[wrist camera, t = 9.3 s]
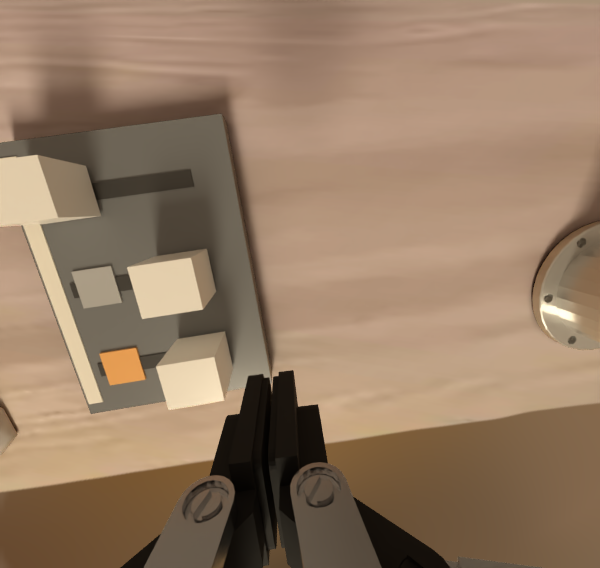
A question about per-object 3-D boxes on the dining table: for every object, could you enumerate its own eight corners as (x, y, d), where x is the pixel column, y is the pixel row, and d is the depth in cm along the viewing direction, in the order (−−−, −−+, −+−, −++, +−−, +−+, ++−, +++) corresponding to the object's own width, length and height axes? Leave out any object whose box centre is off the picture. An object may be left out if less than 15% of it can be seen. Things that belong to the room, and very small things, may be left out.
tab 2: (206, 248, 23) (190, 257, 19) (216, 291, 24) (203, 309, 20) (154, 256, 23) (127, 267, 19) (166, 299, 24) (142, 319, 20)
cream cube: (225, 331, 25) (214, 357, 21) (233, 368, 26) (224, 400, 22) (176, 338, 25) (155, 366, 21) (186, 376, 26) (168, 410, 21)
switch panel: (226, 121, 23) (221, 112, 21) (272, 371, 29) (271, 384, 27) (15, 149, 23) (-12, 143, 21) (103, 399, 28) (89, 415, 26)
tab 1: (86, 165, 21) (36, 154, 17) (101, 216, 22) (58, 217, 18) (28, 173, 21) (-37, 164, 17) (45, 223, 22) (-12, 227, 18)
